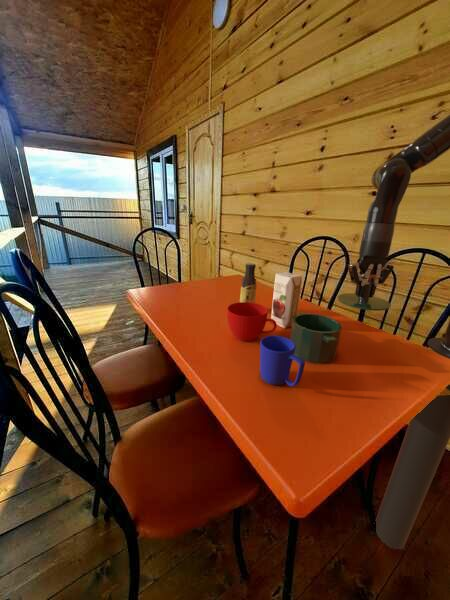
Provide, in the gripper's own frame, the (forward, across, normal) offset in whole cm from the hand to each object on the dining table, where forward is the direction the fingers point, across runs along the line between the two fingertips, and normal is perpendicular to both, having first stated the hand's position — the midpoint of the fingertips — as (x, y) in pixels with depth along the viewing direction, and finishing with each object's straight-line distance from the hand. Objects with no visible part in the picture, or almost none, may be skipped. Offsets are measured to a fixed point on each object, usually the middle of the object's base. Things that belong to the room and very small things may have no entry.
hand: (364, 296), depth 78 cm
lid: (+2, 0, 0) cm, 2 cm away
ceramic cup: (+16, -34, +5) cm, 38 cm away
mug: (+16, -32, -18) cm, 40 cm away
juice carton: (+16, -19, +16) cm, 29 cm away
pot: (+16, -17, -4) cm, 23 cm away
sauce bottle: (+16, -30, +30) cm, 45 cm away
